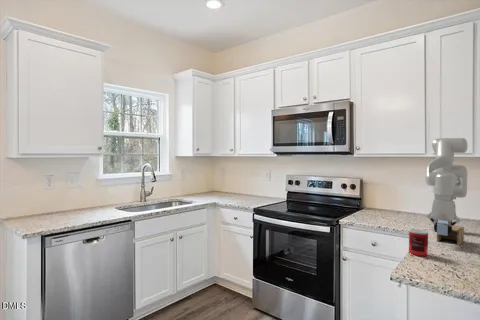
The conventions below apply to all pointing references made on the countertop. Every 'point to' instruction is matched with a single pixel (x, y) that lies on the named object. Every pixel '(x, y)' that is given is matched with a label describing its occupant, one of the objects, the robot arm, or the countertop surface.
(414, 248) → the canned food
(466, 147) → the robot arm
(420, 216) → the countertop surface
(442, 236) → the cubby
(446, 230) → the bar
